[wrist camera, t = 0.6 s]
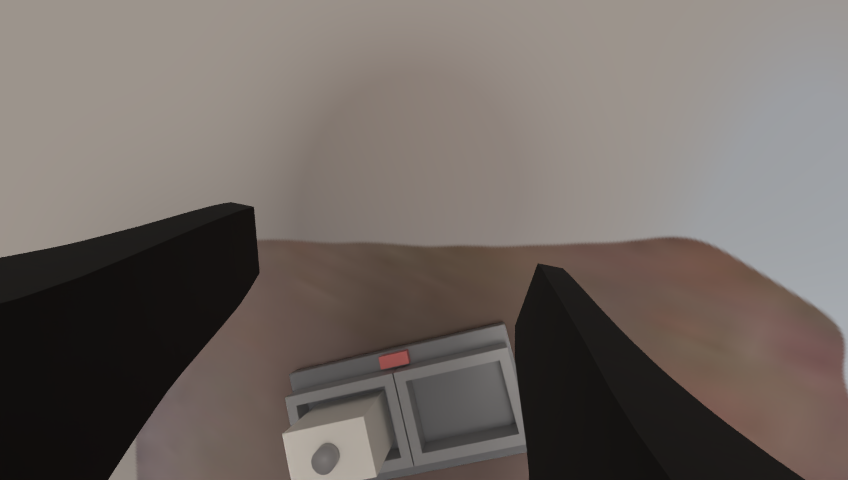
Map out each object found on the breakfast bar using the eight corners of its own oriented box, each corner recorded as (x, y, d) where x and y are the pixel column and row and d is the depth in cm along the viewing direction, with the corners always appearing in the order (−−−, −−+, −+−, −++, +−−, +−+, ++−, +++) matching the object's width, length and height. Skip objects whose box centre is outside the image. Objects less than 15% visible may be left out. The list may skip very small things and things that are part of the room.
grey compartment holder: (535, 441, 32) (557, 502, 23) (320, 484, 34) (268, 554, 25) (503, 321, 33) (513, 338, 24) (296, 369, 35) (240, 400, 26)
